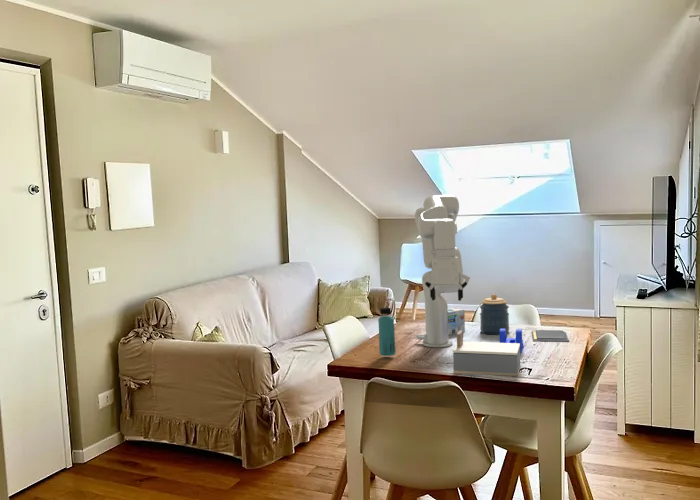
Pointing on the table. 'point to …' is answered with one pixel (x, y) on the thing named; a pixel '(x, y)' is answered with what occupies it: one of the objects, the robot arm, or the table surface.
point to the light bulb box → (456, 320)
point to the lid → (485, 347)
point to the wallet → (549, 336)
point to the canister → (494, 315)
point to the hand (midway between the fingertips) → (446, 300)
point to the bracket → (512, 340)
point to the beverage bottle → (386, 333)
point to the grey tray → (486, 363)
